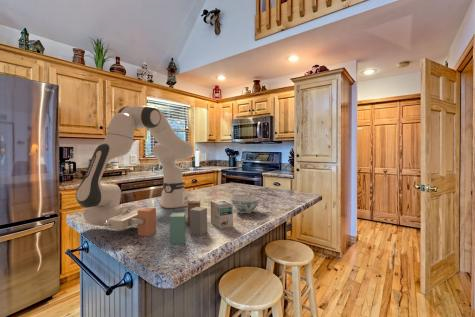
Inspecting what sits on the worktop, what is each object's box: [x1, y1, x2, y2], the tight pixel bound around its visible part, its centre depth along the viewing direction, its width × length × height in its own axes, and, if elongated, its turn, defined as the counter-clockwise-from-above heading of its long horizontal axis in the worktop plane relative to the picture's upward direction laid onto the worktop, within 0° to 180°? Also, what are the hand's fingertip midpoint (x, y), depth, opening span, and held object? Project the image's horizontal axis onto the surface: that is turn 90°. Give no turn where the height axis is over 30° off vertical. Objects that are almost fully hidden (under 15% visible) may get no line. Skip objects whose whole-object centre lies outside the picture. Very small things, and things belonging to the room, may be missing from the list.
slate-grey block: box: [189, 206, 208, 237], centre depth 97 cm, size 5×5×10 cm
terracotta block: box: [137, 206, 157, 237], centre depth 96 cm, size 5×5×10 cm
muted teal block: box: [169, 212, 187, 245], centre depth 88 cm, size 5×5×10 cm
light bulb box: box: [210, 198, 234, 230], centre depth 107 cm, size 11×7×11 cm, turn 30°
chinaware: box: [231, 195, 260, 214], centre depth 128 cm, size 15×15×8 cm
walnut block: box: [187, 200, 201, 226], centre depth 109 cm, size 5×5×10 cm
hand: (148, 219), depth 95 cm, fingers closed on terracotta block, 5 cm apart
